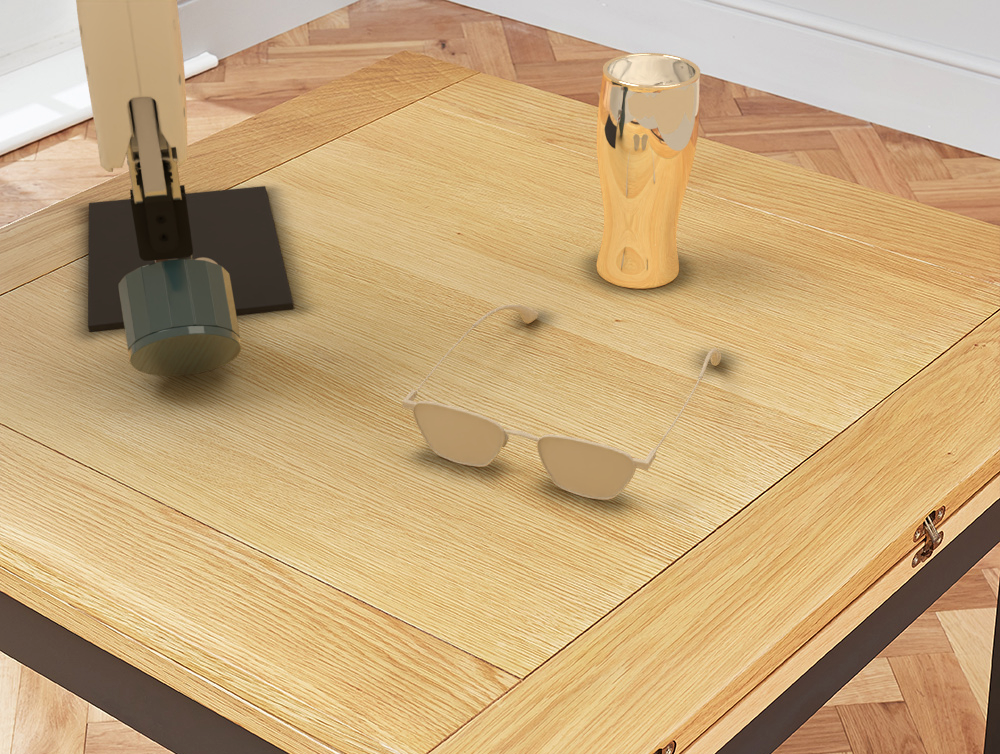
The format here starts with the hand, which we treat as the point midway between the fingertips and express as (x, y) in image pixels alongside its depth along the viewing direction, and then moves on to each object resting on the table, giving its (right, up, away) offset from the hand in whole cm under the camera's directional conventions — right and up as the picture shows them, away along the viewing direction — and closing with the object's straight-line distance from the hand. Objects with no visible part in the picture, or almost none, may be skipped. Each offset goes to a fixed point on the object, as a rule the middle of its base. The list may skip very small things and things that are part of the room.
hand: (166, 252), depth 83 cm
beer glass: (+31, +2, +17) cm, 35 cm away
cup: (+1, -6, +2) cm, 6 cm away
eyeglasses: (+25, -9, +2) cm, 27 cm away
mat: (-3, +3, +18) cm, 19 cm away
